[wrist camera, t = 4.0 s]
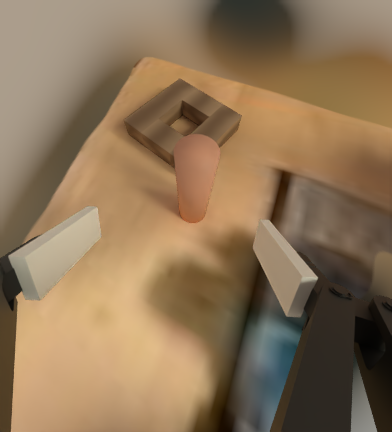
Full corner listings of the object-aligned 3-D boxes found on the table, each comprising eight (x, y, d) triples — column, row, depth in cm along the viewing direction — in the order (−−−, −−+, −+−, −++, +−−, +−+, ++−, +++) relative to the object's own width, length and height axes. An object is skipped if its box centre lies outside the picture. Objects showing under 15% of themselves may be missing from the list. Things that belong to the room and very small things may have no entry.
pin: (210, 209, 28) (229, 150, 16) (194, 228, 27) (200, 180, 15) (190, 194, 29) (193, 127, 16) (174, 212, 27) (163, 153, 15)
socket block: (237, 129, 34) (241, 115, 31) (189, 178, 30) (189, 167, 27) (180, 94, 37) (179, 78, 34) (128, 134, 32) (123, 120, 29)
